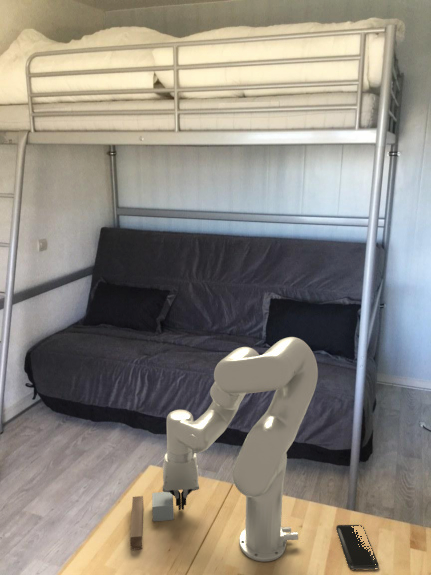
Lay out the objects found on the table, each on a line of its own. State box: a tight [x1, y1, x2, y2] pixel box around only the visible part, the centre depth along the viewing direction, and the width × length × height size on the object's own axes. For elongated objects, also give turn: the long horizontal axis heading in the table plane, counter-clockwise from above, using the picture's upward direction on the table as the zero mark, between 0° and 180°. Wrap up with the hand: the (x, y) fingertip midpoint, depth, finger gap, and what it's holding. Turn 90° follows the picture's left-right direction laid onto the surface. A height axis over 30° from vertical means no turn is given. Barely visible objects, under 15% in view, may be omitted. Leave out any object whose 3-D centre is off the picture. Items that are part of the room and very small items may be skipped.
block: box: [151, 491, 175, 522], centre depth 146 cm, size 6×6×5 cm
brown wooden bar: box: [129, 495, 144, 550], centre depth 140 cm, size 3×16×4 cm, turn 7°
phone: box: [335, 524, 379, 571], centre depth 134 cm, size 8×1×15 cm
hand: (181, 506), depth 147 cm, fingers closed
